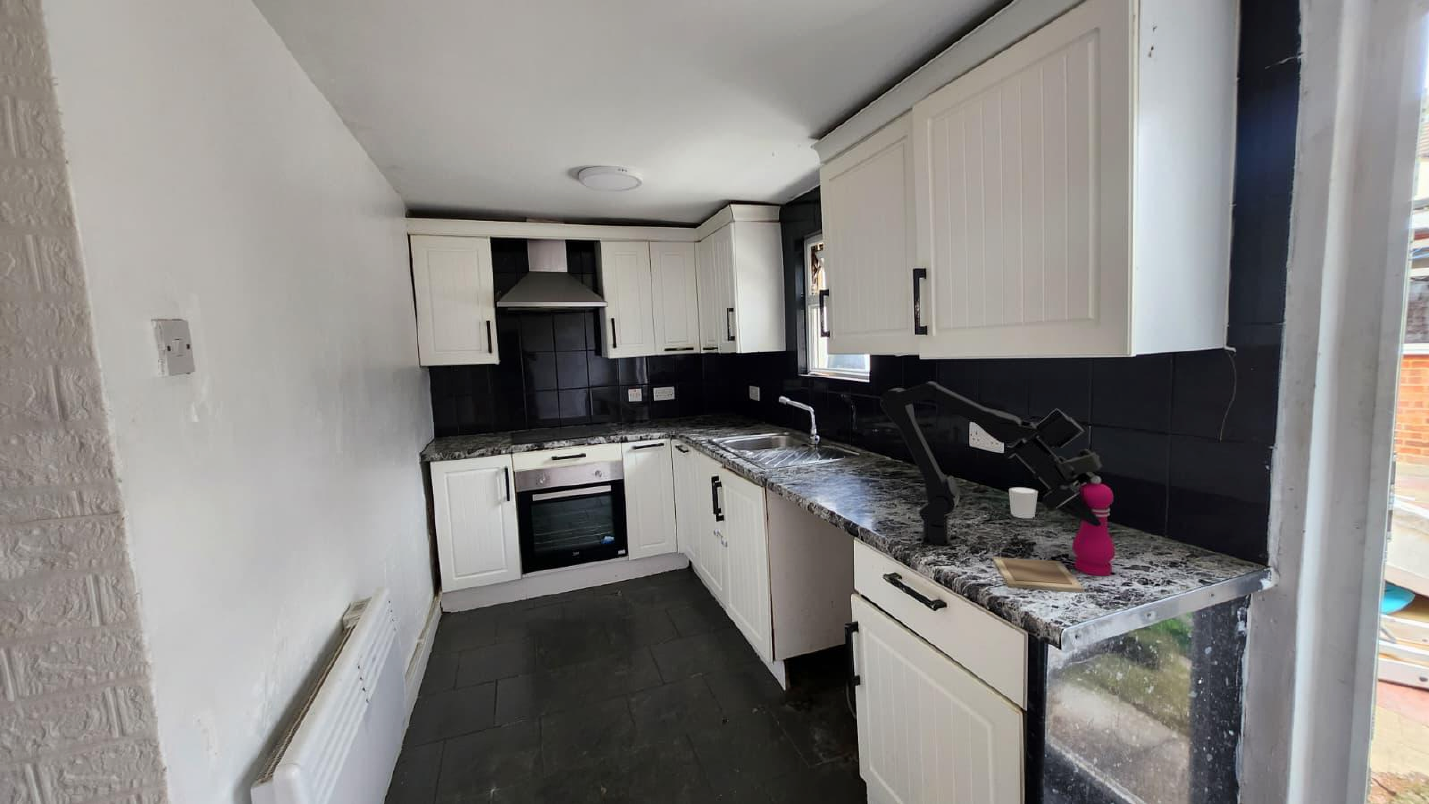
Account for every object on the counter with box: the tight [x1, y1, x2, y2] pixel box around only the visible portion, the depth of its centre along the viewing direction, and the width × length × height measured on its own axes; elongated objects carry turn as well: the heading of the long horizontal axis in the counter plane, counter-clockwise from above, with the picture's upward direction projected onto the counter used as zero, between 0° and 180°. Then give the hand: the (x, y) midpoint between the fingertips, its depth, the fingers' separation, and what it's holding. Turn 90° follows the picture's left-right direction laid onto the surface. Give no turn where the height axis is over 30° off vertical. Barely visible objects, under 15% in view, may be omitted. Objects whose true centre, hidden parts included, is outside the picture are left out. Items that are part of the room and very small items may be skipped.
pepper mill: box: [1071, 475, 1116, 577], centre depth 109 cm, size 7×7×20 cm
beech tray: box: [992, 556, 1085, 594], centre depth 109 cm, size 13×13×1 cm
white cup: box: [1008, 486, 1039, 519], centre depth 144 cm, size 7×7×7 cm
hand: (1102, 521), depth 108 cm, fingers closed on pepper mill, 5 cm apart
